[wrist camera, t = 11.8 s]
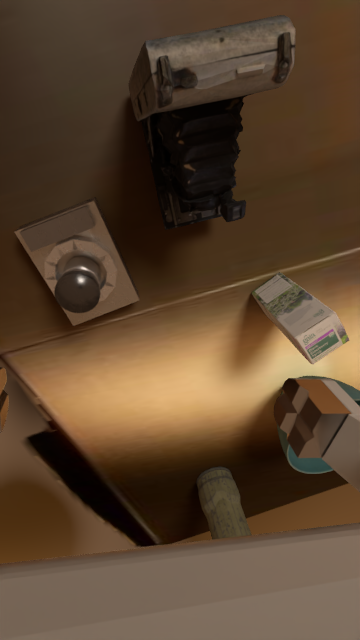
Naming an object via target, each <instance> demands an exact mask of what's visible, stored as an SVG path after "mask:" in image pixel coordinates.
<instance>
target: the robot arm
mask: <svg viewBox="0 0 360 640" xmlns="http://www.w3.org/2000/svg"><path fill="white" fill-rule="evenodd" d="M6 381H7V377H6V370H5V369H4V368H3V367H0V433H1V432H2V430H3V427H4V424H5V422H6V417H7V412H8V394H7V393H6V392H5V391H4V390H3V388H4V386H5V383H6ZM282 390H283V394H282V395H281V396H280V397H278V398H277V400H276V403H275V405H274V417H275V420H276V422H277V424H278V426H279V428H280V429H282V430H283V431H284V432H286V433H287V441H288V443H289V444H290V446H291V448H292V449H293V451H294V453H295V454H296V456H297V457H298V458H322V460H323V461H325V462H326V463H327V464H328V465H329V466H330V467H331V468H333V469H334V470H335V471H336V472H337V473H338V474H339V475H341V476H342V477H343V478H344V479H345V480H346V481H348V482H349V483H350V484H351V485H352V486H353V487H354V488H356V489H357V490H358V491H359V492H360V406H359V405H358V404H357V403H356V402H355V401H354V400H353V399H352V398H351V397H350V396H349V395H348V394H347V393H346V392H345V391H344V390H343V389H342V388H341V387H340V386H339V385H338V384H337V383H336V382H335V381H334V380H331V379H299V378H288V379H287V380H286V381H285V382H284V385H283V387H282ZM0 640H360V523H353V524H345V525H336V526H327V527H318V528H309V529H301V530H292V531H283V532H274V533H266V534H258V535H248V536H239V537H231V538H222V539H213V540H206V541H197V542H187V543H179V544H170V545H162V546H153V547H144V548H136V549H127V550H119V551H110V552H101V553H93V554H83V555H75V556H66V557H57V558H48V559H39V560H30V561H22V562H14V563H5V564H0Z"/></svg>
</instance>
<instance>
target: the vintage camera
mask: <svg viewBox="0 0 360 640" xmlns="http://www.w3.org/2000/svg"><path fill="white" fill-rule="evenodd" d="M294 55H295V28H294V26H293V24H292V22H291V20H290V18H288V17H286V16H285V15H279V16H274V17H269V18H264V19H259V20H254V21H249V22H244V23H240V24H235V25H230V26H225V27H220V28H215V29H210V30H205V31H200V32H195V33H189V34H183V35H177V36H172V37H166V38H160V39H155V40H149V41H145V43H144V45H143V47H142V48H141V51H140V54H139V56H138V58H137V61H136V64H135V66H134V69H133V72H132V75H131V77H130V80H129V91H130V97H131V101H132V105H133V110H134V114H135V117H136V119H137V121H142V126H143V130H144V135H145V139H146V144H147V147H148V151H149V156H150V162H151V167H152V171H153V176H154V180H155V185H156V190H157V194H158V199H159V204H160V208H161V213H162V217H163V222H164V227H165V230H166V229H172V228H176V227H180V226H184V225H188V224H192V223H196V222H200V221H204V220H208V219H212V218H217V217H220V216H223V218H224V219H225V220H226V222H230V221H235V220H238V219H241V218H243V217H244V215H245V207H246V201H245V200H242V201H238V202H237V201H235V200H233V199H232V196H233V192H232V191H231V189H232V188H234V187H235V186H236V181H235V178H236V177H235V176H234V174H235V171H236V170H235V168H234V163H235V162H236V160H237V158H238V157H239V156H238V154H239V152H240V151H241V150H239V146H238V143H237V141H236V139H237V137H238V134H239V132H241V131H243V127H242V125H241V121H242V118H241V116H240V114H239V113H240V111H241V108H242V106H243V104H244V103H243V102H242V101H243V98H244V97H245V96H247V95H251V94H254V93H258V92H262V91H266V90H271V89H275V88H279V87H281V86H283V85H284V84H285V83H286V81H287V79H288V77H289V75H290V72H291V70H292V68H293V66H294Z"/></svg>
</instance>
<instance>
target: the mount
mask: <svg viewBox="0 0 360 640" xmlns="http://www.w3.org/2000/svg"><path fill="white" fill-rule="evenodd" d="M15 234H16V235H17V237H18V239H19V240H20V242H21V243H22V245H23V247H24V248H25V250H26V251H27V253H28V254H29V256H30V258H31V259H32V261H33V262H34V264H35V266H36V267H37V269H38V270H39V272H40V274H41V275H42V277H43V278H44V280H45V282H46V283H47V285H48V286H49V288H50V290H51V291H52V293H53V294H54V290H55V286H56V284H57V281H58V279H59V278H60V277H61V275H62V272H63V270H64V267H65V265H66V264H67V262H68V261H70V260H71V259H73V258H76V257H86V258H89V259H91V260H93V261H94V262H95V263H96V264H97V265H98V267H99V268H100V272H101V280H100V299H99V302H98V304H97V305H96V307H95V308H93V309H92V310H90V311H88V312H85V313H73V312H70V311H67V310H65V309H64V308H62V309H63V310H64V312H65V313H66V315H67V317H68V318H69V320H70V321H71V323H72V325H73V326H75V325H77V324H80V323H83V322H85V321H88V320H90V319H93V318H95V317H98V316H100V315H103V314H106V313H108V312H111V311H113V310H116V309H118V308H121V307H124V306H126V305H129V304H131V303H134V302H136V301H139V294H138V290H137V288H136V286H135V284H134V281H133V279H132V277H131V275H130V273H129V270H128V268H127V266H126V264H125V262H124V259H123V257H122V255H121V253H120V251H119V248H118V246H117V244H116V242H115V240H114V237H113V235H112V233H111V231H110V229H109V226H108V224H107V222H106V220H105V218H104V215H103V213H102V211H101V209H100V206H99V204H98V202H97V200H96V198H92V199H89V200H87V201H84V202H82V203H79V204H77V205H74V206H72V207H69V208H66V209H64V210H61V211H59V212H56V213H54V214H51V215H48V216H46V217H43V218H41V219H38V220H36V221H33V222H31V223H28V224H25V225H23V226H21V227H19V228H18V229H17V230H16V231H15ZM54 296H55V294H54Z"/></svg>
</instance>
